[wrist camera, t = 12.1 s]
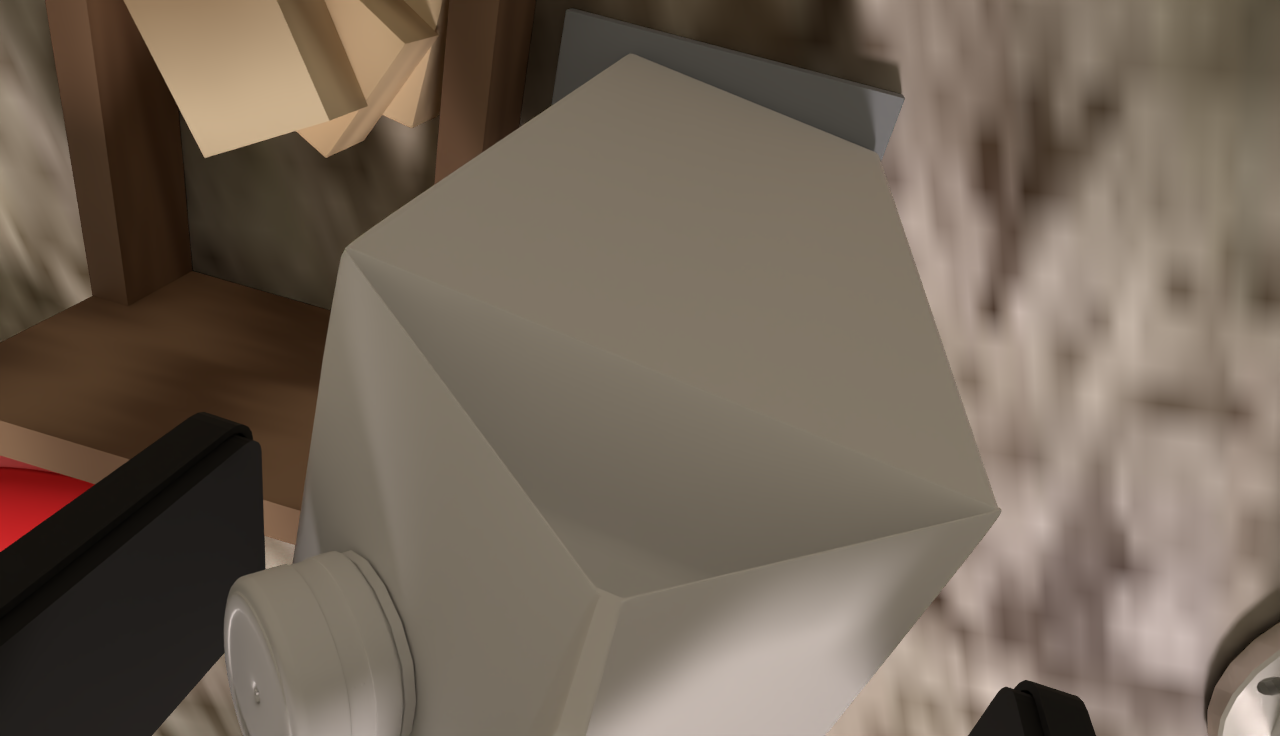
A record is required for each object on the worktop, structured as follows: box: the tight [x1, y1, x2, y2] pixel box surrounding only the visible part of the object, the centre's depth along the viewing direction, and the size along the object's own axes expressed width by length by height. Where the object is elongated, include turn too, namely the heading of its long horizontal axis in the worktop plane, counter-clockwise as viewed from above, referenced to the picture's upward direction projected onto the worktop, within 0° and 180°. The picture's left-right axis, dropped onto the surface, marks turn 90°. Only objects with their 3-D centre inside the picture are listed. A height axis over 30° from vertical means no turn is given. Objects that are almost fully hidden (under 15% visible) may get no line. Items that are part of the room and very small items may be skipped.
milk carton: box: [224, 53, 1002, 736], centre depth 14 cm, size 7×7×19 cm
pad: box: [551, 8, 905, 161], centre depth 23 cm, size 9×9×1 cm
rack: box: [0, 0, 536, 545], centre depth 20 cm, size 12×15×9 cm
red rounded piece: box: [0, 456, 95, 552], centre depth 30 cm, size 8×6×6 cm
